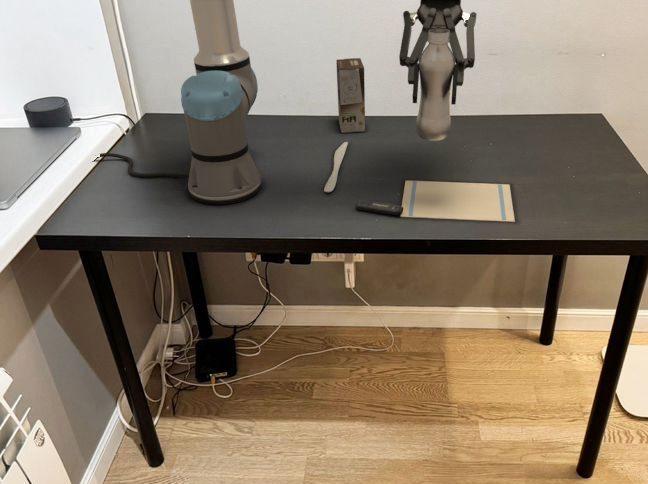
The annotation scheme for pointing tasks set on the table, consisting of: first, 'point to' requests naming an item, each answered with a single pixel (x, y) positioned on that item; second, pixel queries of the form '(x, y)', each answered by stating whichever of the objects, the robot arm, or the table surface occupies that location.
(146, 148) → the table surface
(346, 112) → the coffee box
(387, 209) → the usb stick
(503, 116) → the table surface
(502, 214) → the dish towel
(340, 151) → the butter knife
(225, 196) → the robot arm
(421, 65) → the plastic bottle
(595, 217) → the table surface
